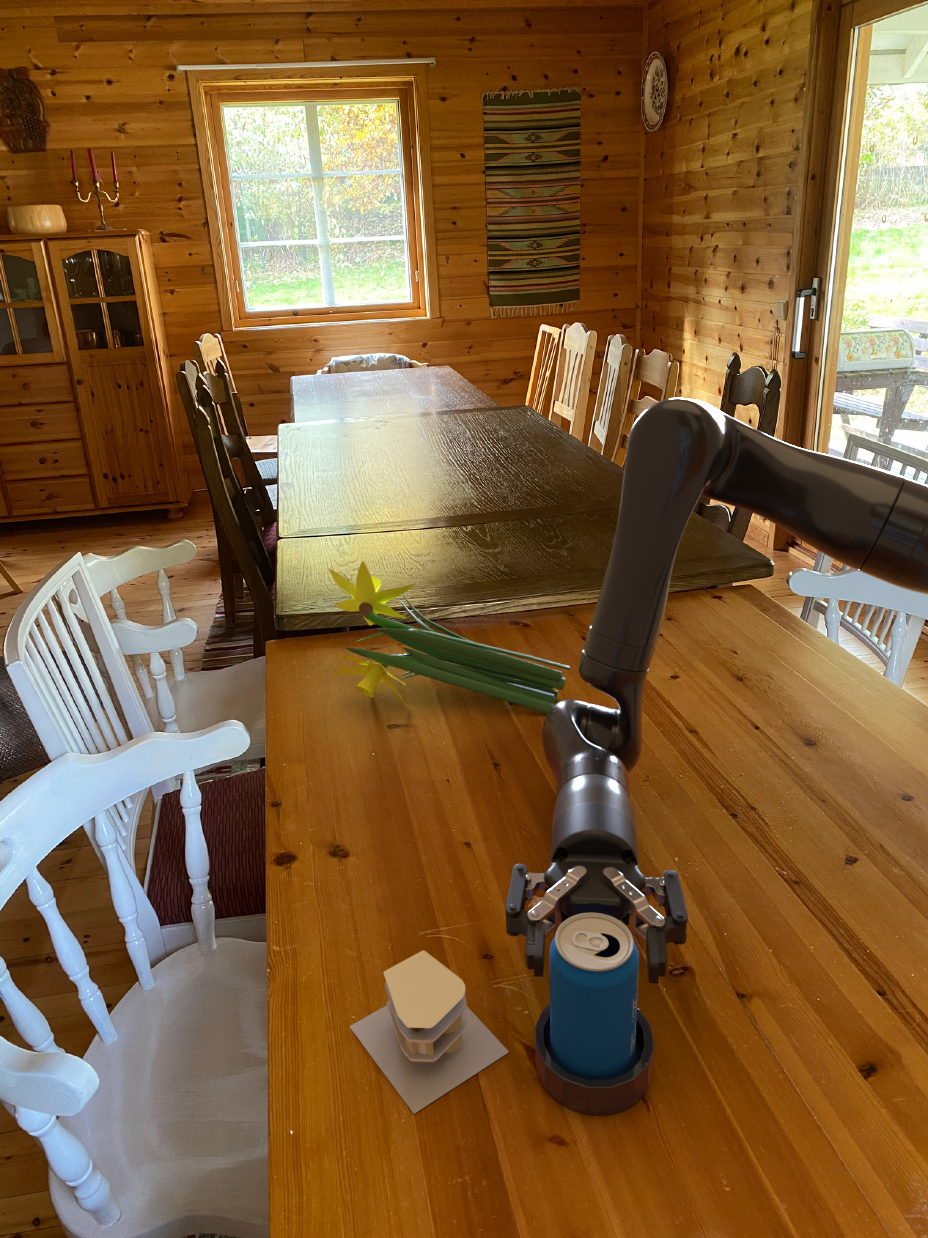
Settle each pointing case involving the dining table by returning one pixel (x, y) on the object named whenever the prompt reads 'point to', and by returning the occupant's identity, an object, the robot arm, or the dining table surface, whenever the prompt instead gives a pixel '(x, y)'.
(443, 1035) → the stacked layers on plate
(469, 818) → the dining table surface
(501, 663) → the daffodil flowers
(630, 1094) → the bowl
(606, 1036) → the beverage can
